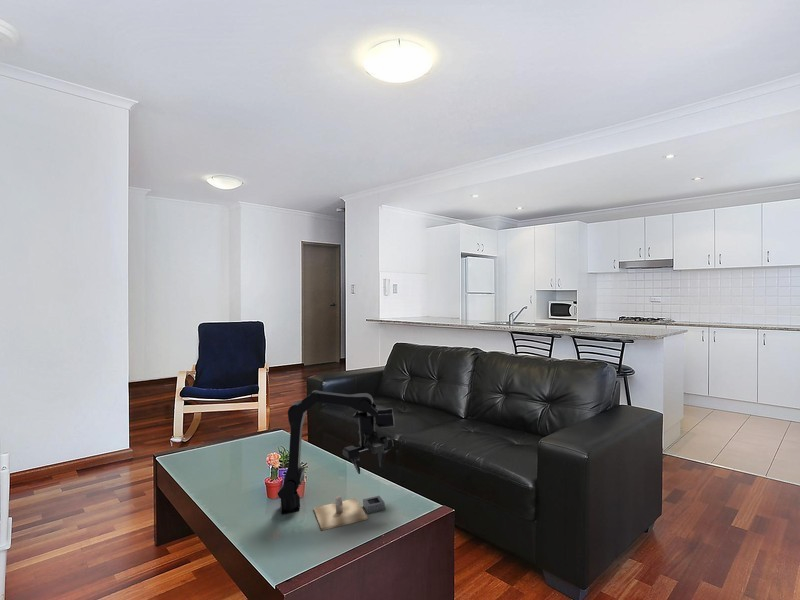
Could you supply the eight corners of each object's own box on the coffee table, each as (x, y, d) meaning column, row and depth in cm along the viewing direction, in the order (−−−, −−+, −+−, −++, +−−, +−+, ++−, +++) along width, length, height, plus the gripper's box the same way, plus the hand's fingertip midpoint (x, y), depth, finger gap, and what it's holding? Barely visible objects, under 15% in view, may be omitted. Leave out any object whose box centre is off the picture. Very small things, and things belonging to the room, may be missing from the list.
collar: (368, 513, 160) (367, 506, 159) (363, 506, 166) (362, 499, 165) (385, 509, 162) (384, 502, 162) (379, 502, 168) (379, 495, 168)
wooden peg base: (321, 530, 150) (320, 511, 150) (313, 509, 165) (312, 492, 165) (367, 519, 156) (366, 501, 155) (355, 500, 171) (354, 483, 170)
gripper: (354, 439, 154) (357, 484, 155) (399, 427, 164) (402, 469, 165) (340, 432, 164) (343, 474, 164) (384, 421, 174) (387, 461, 174)
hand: (370, 470), depth 166 cm, fingers open, 9 cm apart
